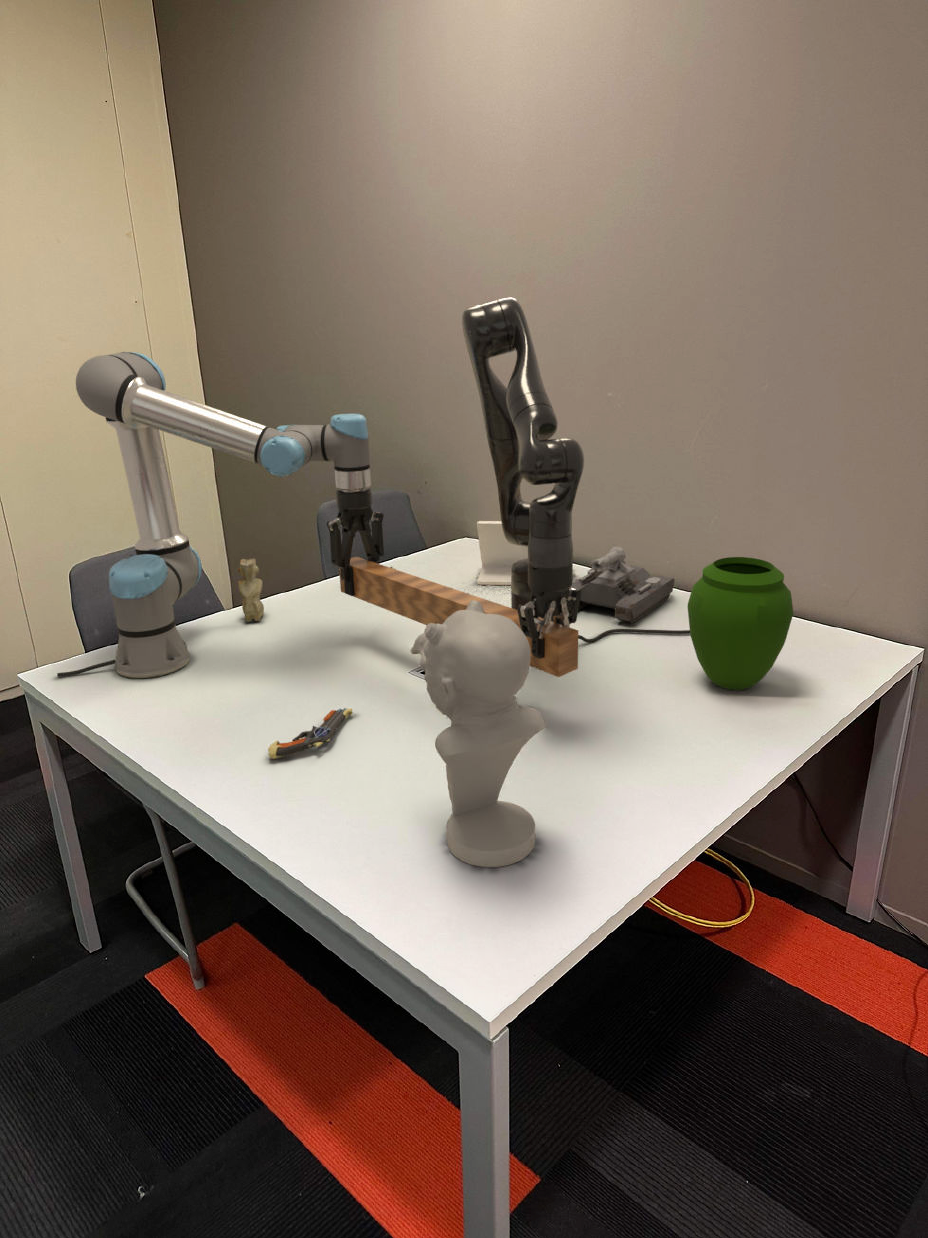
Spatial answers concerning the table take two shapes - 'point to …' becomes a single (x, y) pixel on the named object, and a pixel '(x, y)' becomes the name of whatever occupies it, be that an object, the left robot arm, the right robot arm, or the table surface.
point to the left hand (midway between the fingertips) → (360, 591)
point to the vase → (739, 620)
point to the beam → (452, 609)
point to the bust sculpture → (481, 729)
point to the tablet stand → (497, 554)
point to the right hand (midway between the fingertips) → (549, 652)
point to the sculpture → (250, 590)
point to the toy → (622, 587)
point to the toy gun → (311, 735)
